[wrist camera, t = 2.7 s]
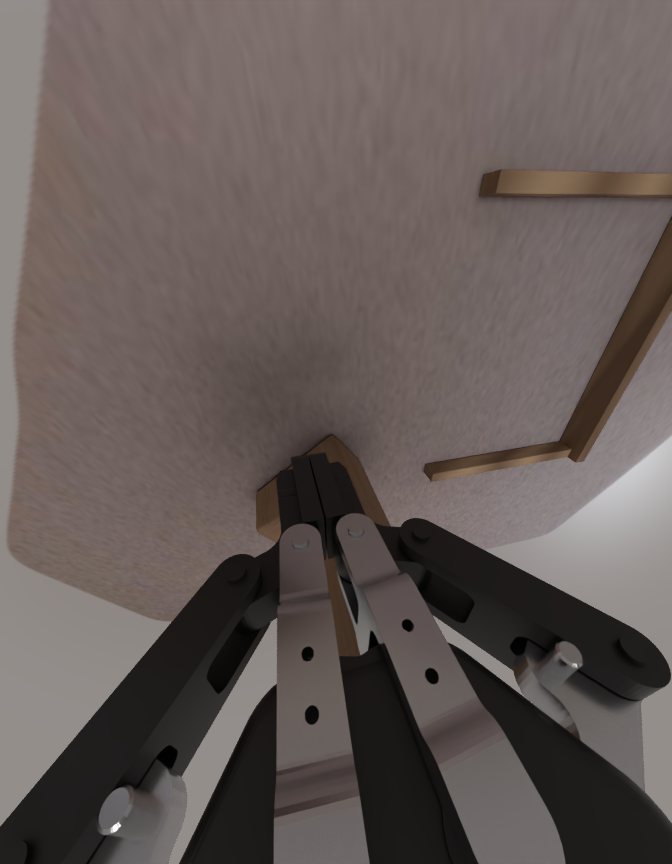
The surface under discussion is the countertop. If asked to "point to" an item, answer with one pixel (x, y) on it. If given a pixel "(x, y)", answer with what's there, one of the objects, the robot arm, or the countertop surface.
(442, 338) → the countertop surface
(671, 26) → the countertop surface
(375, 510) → the wooden block
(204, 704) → the robot arm
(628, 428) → the countertop surface
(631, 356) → the frame
